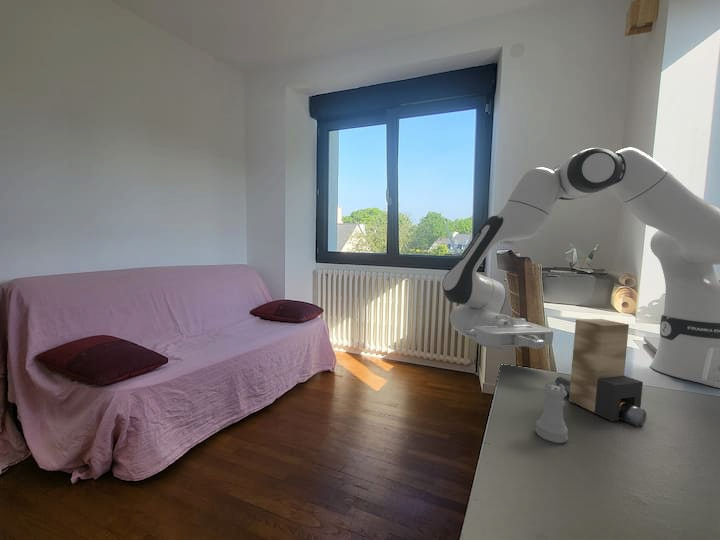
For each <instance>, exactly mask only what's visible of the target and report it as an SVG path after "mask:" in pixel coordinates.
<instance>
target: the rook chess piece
mask: <svg viewBox="0 0 720 540" xmlns="http://www.w3.org/2000/svg"><path fill="white" fill-rule="evenodd" d="M542 390H543V392H544V393H545V396H544V397H543V401H544V406H543V410H542V413H541V415H540V416H539V419H537V420H536V422H535V424H536V425H535V426H536V427H535V433H536V434H537V436H538V437H539V438H542V439H543V440H544V441H547V442H550V443H554V444H564V443H565V442H567V441H568V440H569V435H568V433H569V431H568V430H569V429H568V426H566V422H565V419H564V405H565V401H564V400H565V397H567V396H568V395H567V392H566V391H565V386H563V385H562V384H559V386H556V383H555V381H554V382H550V381H548V382H547V381H546V382H545V386H544V387H543V388H542Z"/></svg>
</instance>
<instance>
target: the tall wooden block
mask: <svg viewBox="0 0 720 540" xmlns="http://www.w3.org/2000/svg"><path fill="white" fill-rule="evenodd" d="M574 326H575V327H574V328H575V329H574V337H573V338H574V339H573V350H572V361H571V362H572V363H571V373H570V380H571V383H570V394H569V395H568V401H569V400H570V401H569V402H571V403H573V404H575V403H576V404H575V405H577V406H580V407H581V408H583V409H586V410H588V411H590V412H593V413H594V414H596V413H595V402H596V391H597V380H598V379H599V378H608V377H617V376H625V369H626V359H627V348H628V339H629V338H628V336H629V329H630V324H628V323H624V322H623V323H622V322H618V321H614V320H607V319H605V318H589V319H587V318H585V319H575V325H574Z"/></svg>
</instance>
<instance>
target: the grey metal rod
mask: <svg viewBox="0 0 720 540" xmlns="http://www.w3.org/2000/svg"><path fill="white" fill-rule="evenodd" d="M554 382H555V383H556V386H559V384H562V385H563V386H565V391H566V392H567V394H570V383H571V378H570V379H569V378H567V377H565V376H560V375H559V376H558V377H556V379H555V380H554ZM619 419H620V420H623V421H624V422H626V423H629V424H631V425H634V426H636V427H637V428H640V427H642V426H643V425H644V424H646V421H647V412H646V410H645V409H643V408H641V407H640V408H639V407H636V406H634V405H631V404H629V403H626V402H624V401H621V400H620V411H619Z"/></svg>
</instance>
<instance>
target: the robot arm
mask: <svg viewBox="0 0 720 540" xmlns="http://www.w3.org/2000/svg"><path fill="white" fill-rule="evenodd" d="M603 190H606V191H608V192H609V193H611V194H613V195H614V196H615V197H616V198H617V200H619V201H620V203H622V205H624V206H625V207H626V209H627V210H629V211H630V213H632V215H634V216H635V218H637V219H638V220H639V221H640V222H641V223H643V224H644V225H646V226H648V227H652V228H654V229H656V230H657V231H656V232H655V233H654V234H653V235H652V236H651V239H650V244H649V245H650V250H651V252H652V253H653V255H654V256H655V257H657V259H658V261H659V264H660V266H661V270H662V273H663V277H664V284H665V297H664V308H663V309H664V310H663V314H662V315H661V318H660V322H659V323H660V324H659V335H660V337H659V342H658V346H657V349H656V353H655V355H654V357H653V360H652V362H651V363H650V366H649V367H650V368H651V369H653V370H655V371H657V372H659V373H663V374H665V375H668V376H670V377H675V378H678V379H682V380H686V381H691V382H695V383H699V384H702V385H706V386H710V387H714V388H719V389H720V281H719V279H718V277H717V275H716V272H715V269H714V265H715V266H717V265H720V207H718V206H716V205H714V204H712V203H710V202H708V201H706V200H704V199H703V198H701V197H700V196H698V195H696V194H695V193H693V192H692V191H691V190H689V189H688V188H687V187H685V185H683V183H682V182H680V181H679V180H678V179H677V178H676V177H675V176H674V175H673V174H672V173H670V172H669V171H668V170H667V169H666V168H665V167H664V166H663V165H661V164H660V163H659V162H658V161H657V160H655V159H654V158H652V156H650V155H648V154H646V153H645V152H644V151H641V150H640V149H637V148H635V147H626V148H623V149H620V150H618V151H612V150H609V149H607V148H606V149H605V148H603V147H602V148H601V147H591V148H586V149H584V150H582V151H579V152H578V153H576V154H574V155H572V156H570V157H568V158H567V159H565V160H564V161H563V162H562V163H561V164H558V165H557V166H556V167H555V168H553V169H549V168H546V167H534V168H531V169H529V170H527V171H526V172H525V173H524V174H523V175H522V177H521V178H520V180H519V181H518V183H517V184H516V185H515V187H514V189H513V191H511V194H510V196H509V198H508V199H507V202H506V203H505V205H504V207H503V208H502V209H501V210H500V211H499V212H498V213H497V214H496V215H492V216H490V217H488V218H487V220H485V221H484V223H483V224H481V227H479V229H478V231H477V232H476V234H475V235H474V236H473V238H472V239H471V241H470V243H469V244H468V246H467V247H466V248H465V249H464V251H463V252H462V254H461V255H460V257H459V258H458V260H457V262H456V263H454V265H453V266H452V267H451V268H450V269H449V271H448V272H447V273H446V274H445V275H444V277H443V280H442V284H441V285H442V290H443V295H444V296H445V298H446V299H447V300H448V301H449V302H451V303H455V304H459V305H458V306H455V307H454V308H453V309H452V310H451V311H450V314H449V320H450V323H451V326H452V327H453V329H454V330H455V331H456V332H458V333H459V334H461V335H462V336H464V337H465V338H466V337H467V338H469V339H472V341H473V342H475V343H476V344H478V345H480V346H482V347H484V348H489V349H493V348H494V349H503V348H513V347H514V348H515V347H525V348H530V349H533V350H535V349H545V346H551V345H552V344H553V341H554V331H553V330H552V329H550V328H548V327H545V326H543V325H539V324H536V323H534V322H529V321H526V318H525V317H524V318H523V317H518V316H509V315H506V314H502V312H503V310H504V308H505V305H506V300H507V290H506V288H505V286H504V284H503V283H502V282H501V281H498V280H496V279H493V278H492V277H489V276H485V275H483V274H480V273H479V272H477V270H478V269H479V267H480V266H481V264H482V263H483V261H484V259H485V258H486V257H487V255H488V254H489V252H490V251H491V250H492V248H493V247H494V246H495V245H497V244H499V243H500V242H506V241H524V240H528V239H531V238H533V237H535V236H536V235H537V234H539V233H540V231H541V230H542V229H543V227H544V226H545V223H546V221H547V219H548V217H549V215H550V214H551V211H552V210H553V207H554V205H555V204H556V203H557V202H558V201H559V200H563V201H564V200H566V201H570V200H571V201H572V200H575V199H576V200H577V199H581V198H586V197H589V196H591V195H593V194H594V193H598V192H600V191H603Z"/></svg>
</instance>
